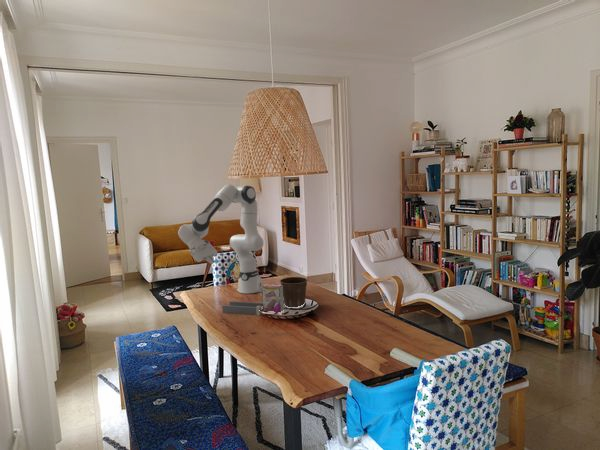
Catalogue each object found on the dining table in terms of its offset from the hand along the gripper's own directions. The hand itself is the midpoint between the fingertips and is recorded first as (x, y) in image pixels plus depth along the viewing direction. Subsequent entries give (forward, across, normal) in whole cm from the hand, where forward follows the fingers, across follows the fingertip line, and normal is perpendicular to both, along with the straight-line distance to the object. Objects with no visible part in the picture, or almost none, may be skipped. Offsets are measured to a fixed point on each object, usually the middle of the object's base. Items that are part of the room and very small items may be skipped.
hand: (213, 262), depth 269 cm
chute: (+34, -4, +4) cm, 35 cm away
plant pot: (+53, +10, -14) cm, 56 cm away
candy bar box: (+48, -5, -9) cm, 49 cm away
